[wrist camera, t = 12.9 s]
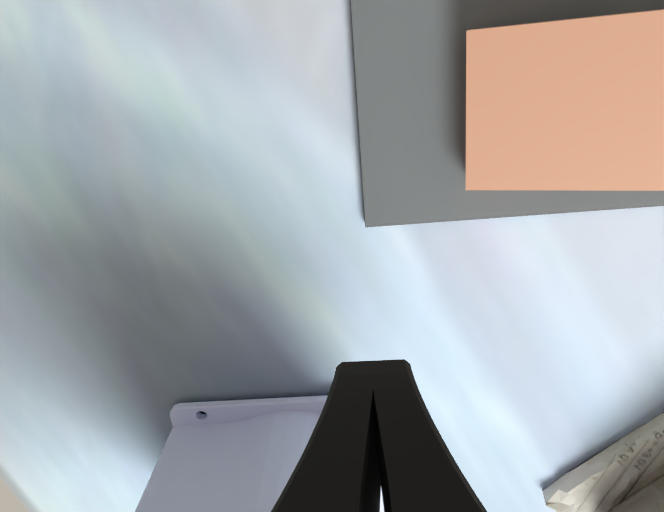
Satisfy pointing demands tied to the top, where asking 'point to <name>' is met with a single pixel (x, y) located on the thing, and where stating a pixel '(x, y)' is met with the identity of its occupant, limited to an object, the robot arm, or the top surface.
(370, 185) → the slate mat
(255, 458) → the robot arm
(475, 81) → the domino
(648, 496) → the packaged product
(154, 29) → the top surface
